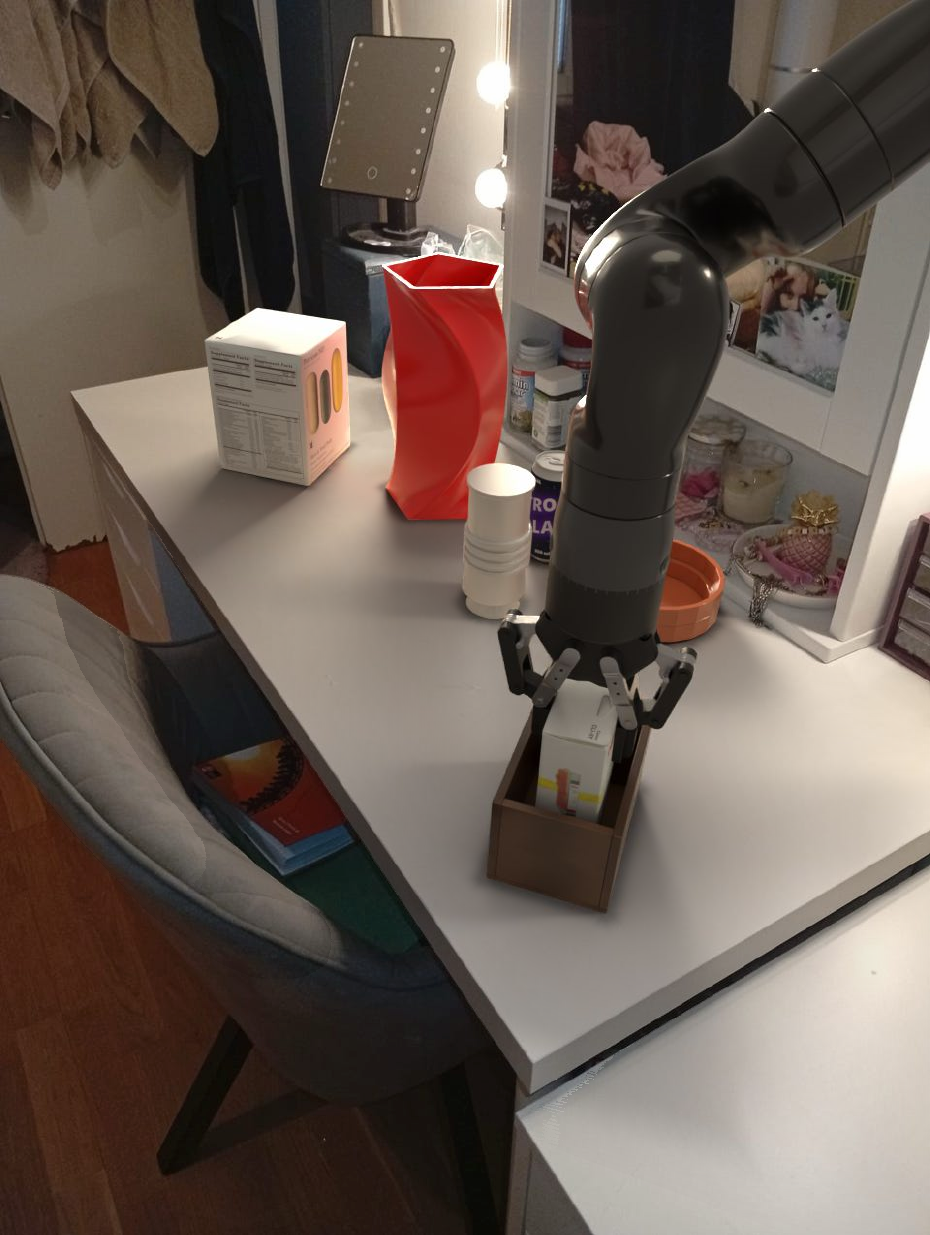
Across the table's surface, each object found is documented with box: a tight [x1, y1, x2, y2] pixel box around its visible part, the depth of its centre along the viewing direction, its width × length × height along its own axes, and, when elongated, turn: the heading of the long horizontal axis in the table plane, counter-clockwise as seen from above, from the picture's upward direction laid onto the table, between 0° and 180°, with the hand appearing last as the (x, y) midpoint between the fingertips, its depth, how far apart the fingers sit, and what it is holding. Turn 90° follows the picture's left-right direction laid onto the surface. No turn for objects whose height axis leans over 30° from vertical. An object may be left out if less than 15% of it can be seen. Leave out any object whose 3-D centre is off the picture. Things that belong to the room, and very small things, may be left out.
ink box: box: [535, 678, 619, 825], centre depth 70 cm, size 9×5×12 cm, turn 162°
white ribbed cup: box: [461, 462, 535, 620], centre depth 96 cm, size 7×7×15 cm
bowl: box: [656, 538, 726, 643], centre depth 100 cm, size 14×14×4 cm
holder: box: [486, 690, 653, 914], centre depth 73 cm, size 9×13×8 cm
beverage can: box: [529, 449, 565, 563], centre depth 105 cm, size 6×6×12 cm
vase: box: [381, 252, 509, 521], centre depth 111 cm, size 15×14×28 cm
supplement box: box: [204, 307, 351, 487], centre depth 121 cm, size 13×13×18 cm
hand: (580, 744), depth 70 cm, fingers closed on ink box, 5 cm apart
